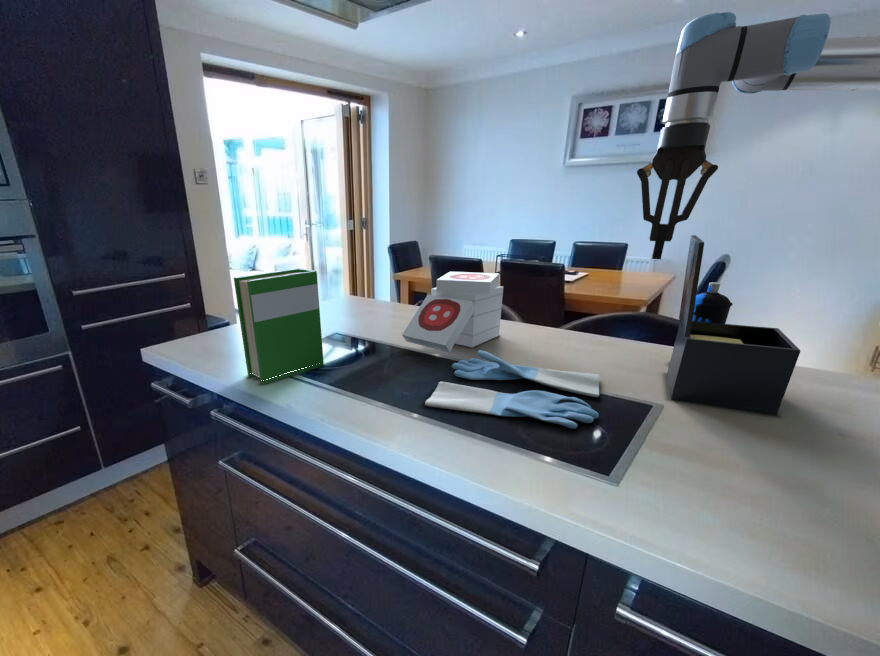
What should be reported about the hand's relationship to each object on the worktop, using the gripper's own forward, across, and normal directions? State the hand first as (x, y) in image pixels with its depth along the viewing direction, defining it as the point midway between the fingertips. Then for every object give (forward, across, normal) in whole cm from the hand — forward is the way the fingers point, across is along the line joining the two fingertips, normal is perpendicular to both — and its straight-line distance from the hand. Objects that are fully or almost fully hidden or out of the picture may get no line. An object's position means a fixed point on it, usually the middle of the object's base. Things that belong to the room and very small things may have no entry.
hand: (656, 258), depth 89 cm
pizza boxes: (+27, +45, -12) cm, 54 cm away
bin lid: (+5, -7, 0) cm, 9 cm away
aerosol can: (+27, -13, -15) cm, 33 cm away
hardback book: (+27, +75, +29) cm, 85 cm away
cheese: (+21, -19, 0) cm, 28 cm away
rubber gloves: (+27, +21, +18) cm, 39 cm away
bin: (+27, -16, 0) cm, 31 cm away
